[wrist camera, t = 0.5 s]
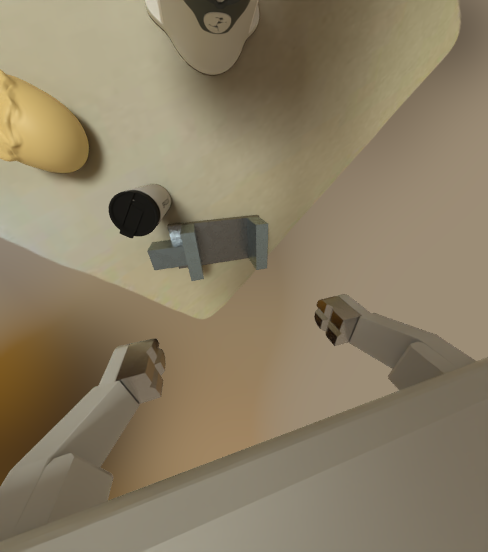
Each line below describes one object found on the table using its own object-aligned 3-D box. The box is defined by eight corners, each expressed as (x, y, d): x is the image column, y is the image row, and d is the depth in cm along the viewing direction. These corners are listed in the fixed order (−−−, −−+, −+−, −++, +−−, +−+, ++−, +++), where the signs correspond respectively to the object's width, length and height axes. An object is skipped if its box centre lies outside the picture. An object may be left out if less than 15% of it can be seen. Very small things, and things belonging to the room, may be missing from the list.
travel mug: (138, 204, 41) (100, 226, 24) (147, 177, 39) (113, 181, 22) (165, 218, 44) (148, 246, 27) (175, 194, 41) (164, 207, 25)
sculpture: (9, 73, 28) (-80, 25, 19) (100, 120, 33) (64, 100, 24) (14, 151, 32) (-57, 143, 23) (94, 183, 37) (62, 186, 28)
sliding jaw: (162, 271, 48) (157, 286, 41) (147, 228, 42) (139, 238, 35) (202, 265, 50) (203, 278, 43) (194, 223, 44) (194, 232, 37)
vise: (179, 265, 51) (177, 283, 42) (168, 224, 44) (162, 236, 36) (257, 253, 55) (268, 267, 47) (256, 214, 49) (270, 223, 41)
